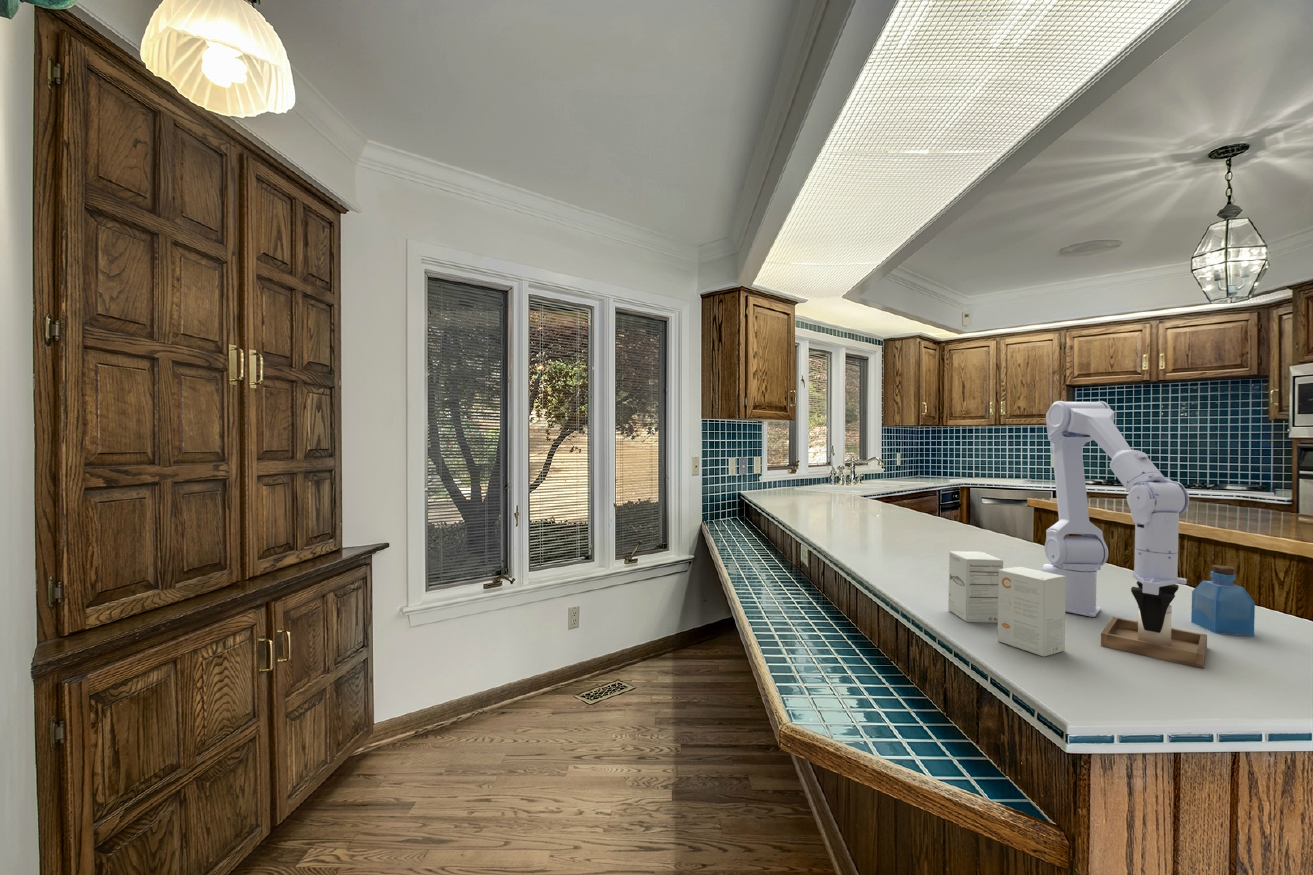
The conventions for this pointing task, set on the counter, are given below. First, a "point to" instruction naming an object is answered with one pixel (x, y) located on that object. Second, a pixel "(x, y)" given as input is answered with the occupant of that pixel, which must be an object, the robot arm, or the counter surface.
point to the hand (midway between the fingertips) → (1154, 627)
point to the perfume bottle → (1223, 604)
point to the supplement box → (974, 586)
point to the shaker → (1155, 637)
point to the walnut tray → (1182, 650)
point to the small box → (1031, 610)
